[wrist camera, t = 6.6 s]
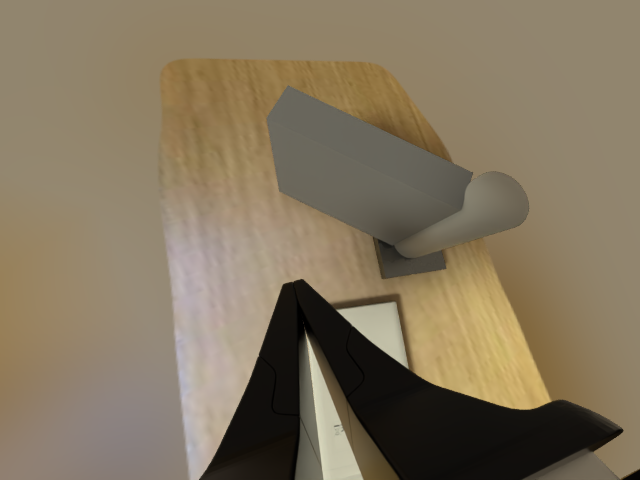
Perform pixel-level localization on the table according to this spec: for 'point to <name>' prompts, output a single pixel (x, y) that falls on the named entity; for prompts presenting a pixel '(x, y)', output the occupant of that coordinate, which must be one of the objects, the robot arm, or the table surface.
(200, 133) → the table surface
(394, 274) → the arm mount
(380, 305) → the external hard drive
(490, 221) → the swing arm
